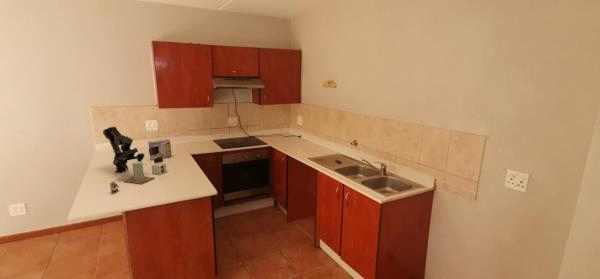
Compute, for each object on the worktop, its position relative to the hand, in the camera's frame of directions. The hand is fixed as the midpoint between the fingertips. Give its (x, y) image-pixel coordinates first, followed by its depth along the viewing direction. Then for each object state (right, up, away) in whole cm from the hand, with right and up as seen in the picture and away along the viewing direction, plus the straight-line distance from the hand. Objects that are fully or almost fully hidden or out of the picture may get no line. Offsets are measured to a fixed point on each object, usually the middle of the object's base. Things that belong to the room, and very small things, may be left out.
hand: (134, 167), depth 220 cm
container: (+11, -6, +16) cm, 20 cm away
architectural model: (-1, -14, -23) cm, 27 cm away
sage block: (+4, -8, -2) cm, 10 cm away
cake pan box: (-7, +3, +56) cm, 57 cm away
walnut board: (+5, -9, -2) cm, 10 cm away
